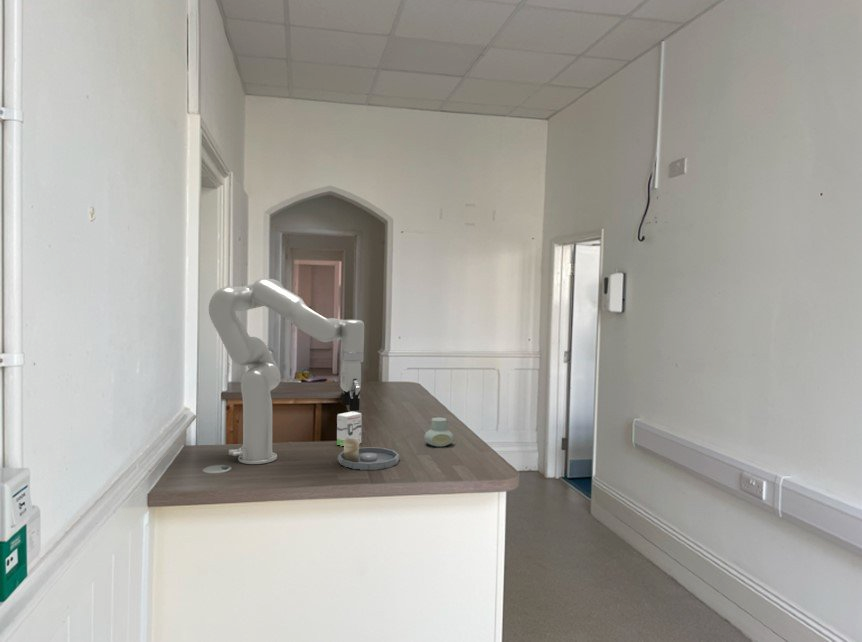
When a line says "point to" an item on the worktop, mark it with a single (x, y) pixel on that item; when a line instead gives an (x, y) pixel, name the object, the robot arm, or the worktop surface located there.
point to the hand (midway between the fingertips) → (350, 407)
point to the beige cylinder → (351, 450)
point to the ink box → (348, 427)
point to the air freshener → (438, 433)
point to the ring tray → (371, 459)
